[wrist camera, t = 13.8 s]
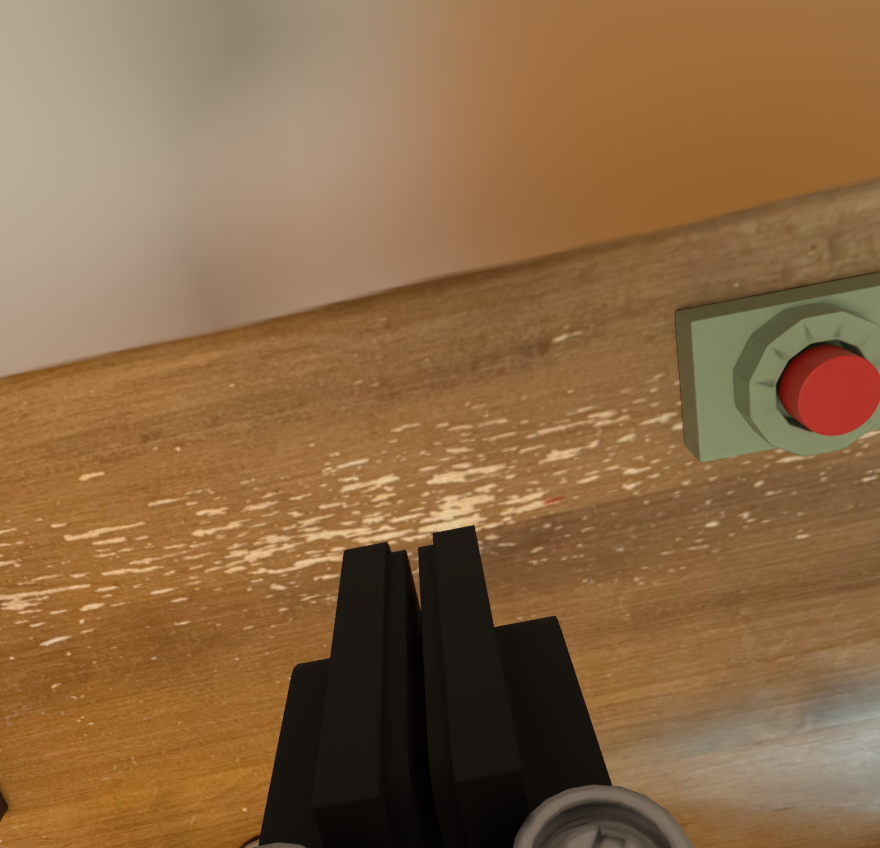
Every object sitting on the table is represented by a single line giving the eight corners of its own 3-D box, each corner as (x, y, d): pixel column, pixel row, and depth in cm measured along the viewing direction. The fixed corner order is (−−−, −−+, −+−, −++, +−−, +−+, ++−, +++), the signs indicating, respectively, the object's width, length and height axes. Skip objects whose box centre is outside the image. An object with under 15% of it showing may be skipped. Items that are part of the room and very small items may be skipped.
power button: (777, 353, 33) (797, 364, 32) (859, 337, 33) (884, 347, 32) (779, 428, 35) (798, 443, 33) (859, 413, 34) (881, 427, 33)
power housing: (674, 310, 36) (705, 331, 32) (885, 270, 36) (941, 286, 32) (684, 445, 39) (714, 479, 35) (881, 408, 38) (933, 438, 35)
